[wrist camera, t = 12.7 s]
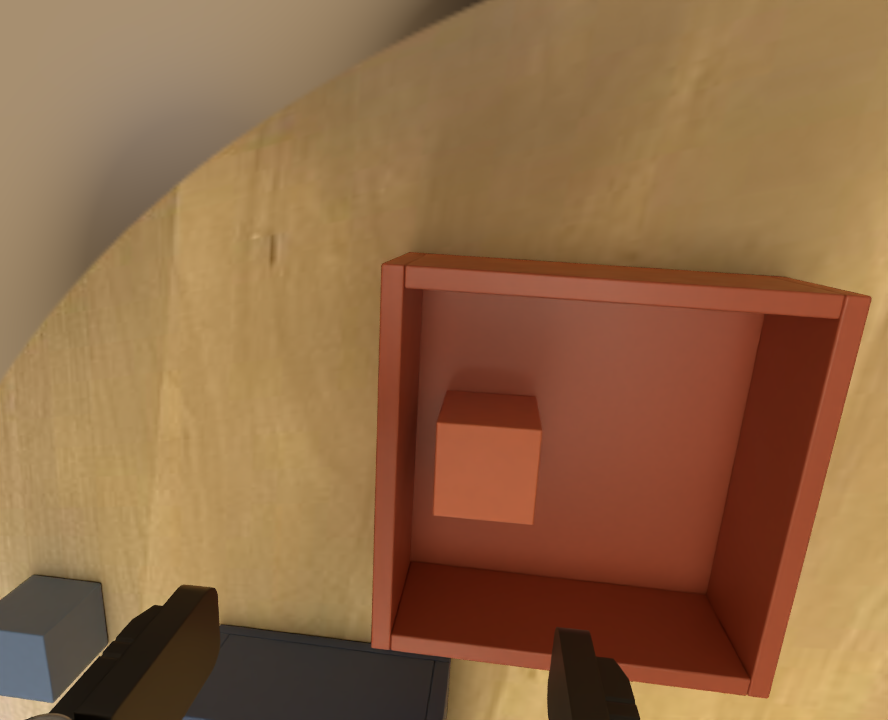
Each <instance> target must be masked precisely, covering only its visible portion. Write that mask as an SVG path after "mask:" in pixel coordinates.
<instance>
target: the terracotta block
mask: <svg viewBox="0 0 888 720" xmlns="http://www.w3.org/2000/svg"><path fill="white" fill-rule="evenodd" d="M542 433H543V431H542V425H541V420H540V414H539V409H538V403H537V398H536V397H533V396H519V395H505V394H492V393H478V392H464V391H451V390H448V391H446V394H445V397H444V400H443V403H442V406H441V410H440V413H439V416H438V419H437V422H436V437H435V461H434V485H433V509H432V514H433V515H434V516H443V517H453V518H464V519H475V520H485V521H496V522H507V523H518V524H528V525H533V523H534V517H535V506H536V496H537V485H538V475H539V464H540V454H541V443H542Z"/></svg>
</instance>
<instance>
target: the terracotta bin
mask: <svg viewBox="0 0 888 720" xmlns="http://www.w3.org/2000/svg"><path fill="white" fill-rule="evenodd" d="M870 303H871V297H870V296H867V295H863V294H858V293H854V292H850V291H845V290H841V289H836V288H832V287H827V286H823V285H818V284H814V283H810V282H805V281H801V280H796V279H791V278H788V277H779V276H764V275H749V274H734V273H718V272H703V271H688V270H673V269H658V268H642V267H627V266H612V265H597V264H581V263H566V262H551V261H536V260H520V259H505V258H490V257H475V256H459V255H444V254H429V253H414V252H409V253H407V254H405V255H402V256H400V257H397V258H395V259H392V260H390V261H387V262H385V263H383V264H382V265H381V300H380V337H379V374H378V411H377V448H376V484H375V521H374V558H373V595H372V632H371V647H372V648H376V649H384V650H390V648H391V650H393V651H400V652H408V653H416V654H424V655H432V656H439V657H447V658H455V659H463V660H471V661H479V662H486V663H494V664H502V665H510V666H518V667H525V668H533V669H541V670H549V671H550V663H551V656H552V648H553V640H554V633H555V629H556V627H563V628H572V629H581V630H589V632H590V634H591V637H592V642H593V646H594V651H595V655H596V656H597V657H606V658H614V660H615V661H616V662H617V664H618V665H619V666H620V668H621V669H622V670H623V672H624V673H625V674H626V676H627V677H628V678H629V681H635V682H643V683H650V684H658V685H666V686H674V687H682V688H690V689H697V690H705V691H713V692H721V693H729V694H736V695H744V696H745V695H748V696H752V697H760V698H768V697H769V694H770V690H771V686H772V682H773V678H774V674H775V670H776V667H777V663H778V659H779V655H780V651H781V647H782V643H783V639H784V636H785V632H786V628H787V624H788V620H789V616H790V612H791V609H792V605H793V601H794V597H795V593H796V589H797V585H798V581H799V578H800V574H801V570H802V566H803V562H804V558H805V554H806V551H807V547H808V543H809V539H810V535H811V531H812V527H813V523H814V520H815V516H816V512H817V508H818V504H819V500H820V496H821V492H822V489H823V485H824V481H825V477H826V473H827V469H828V465H829V462H830V458H831V454H832V450H833V446H834V442H835V438H836V434H837V431H838V427H839V423H840V419H841V415H842V411H843V407H844V403H845V400H846V396H847V392H848V388H849V384H850V380H851V376H852V373H853V369H854V365H855V361H856V357H857V353H858V349H859V345H860V342H861V338H862V334H863V330H864V326H865V322H866V318H867V315H868V311H869V307H870ZM448 390H451V391H464V392H478V393H492V394H505V395H519V396H533V397H536V398H537V403H538V409H539V414H540V420H541V425H542V431H543V433H542V443H541V454H540V464H539V475H538V485H537V496H536V506H535V517H534V523H533V525H528V524H518V523H507V522H496V521H485V520H475V519H464V518H453V517H443V516H434V515H433V514H432V509H433V485H434V461H435V437H436V422H437V419H438V416H439V413H440V410H441V406H442V403H443V400H444V397H445V394H446V391H448Z"/></svg>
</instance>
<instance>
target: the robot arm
mask: <svg viewBox="0 0 888 720" xmlns="http://www.w3.org/2000/svg"><path fill="white" fill-rule="evenodd" d="M219 649H220V626H219V609H218V594H217V591H216V589H215V588H211V587H202V586H193V585H181V586H180V587H179V588H178V589H177V590H176V591H175V592H174V593H173V595H172V596H171V597H170V598H169V599H168V601H167V602H166V603H165V604H164V605H163V606H158V605H154V606H152V607H151V608H149V609H148V610H146V611H145V612H143V613H142V614H140V615H138V616H137V617H135V618H134V619H132V620H131V621H130V623H129V624H128V625H127V626H126V627H125V628H124V629H123V630H122V632H121V633H120V634H119V635H118V636H117V637H116V640H115V641H113V642H112V643H111V644H110V645H109V646H108V647H107V648H106V650H105V651H104V652H103V655H102V656H99V657H98V658H97V660H96V661H95V662H94V663H93V664H92V665H91V666H90V667H89V669H88V670H87V671H86V672H85V673H84V674H83V675H82V676H81V678H80V679H79V680H78V681H77V682H76V683H75V684H74V685H73V687H72V688H71V689H70V690H69V691H68V692H67V693H66V694H65V696H64V697H63V698H62V699H61V700H60V701H59V702H58V703H57V704H56V706H55V707H54V708H53V709H52V710H51V711H50V712H49V713H47V714H42V715H37V716H34V717H31V718H29V719H26V720H182V719H183V718H184V716H185V714H186V713H187V711H188V709H189V708H190V706H191V705H192V703H193V701H194V700H195V698H196V696H197V695H198V693H199V692H200V690H201V688H202V687H203V685H204V684H205V682H206V680H207V679H208V677H209V675H210V674H211V672H212V670H213V668H214V666H215V664H216V661H217V658H218V654H219ZM547 704H548V718H549V720H640V716H639V713H638V709H637V706H636V705H635V699H634V696H633V692H632V689H631V685H630V682H629V678H628V677H627V676H626V674H625V673H624V672H623V670H622V669H621V668H620V666H619V665H618V664H617V662H616V661H615V660H614V658H606V657H597V656H596V655H595V651H594V646H593V642H592V637H591V634H590V632H589V630H581V629H572V628H563V627H556V629H555V633H554V640H553V648H552V656H551V663H550V671H549V679H548V693H547Z"/></svg>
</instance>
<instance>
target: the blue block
mask: <svg viewBox="0 0 888 720" xmlns="http://www.w3.org/2000/svg"><path fill="white" fill-rule="evenodd" d="M107 644H108V640H107V632H106V623H105V615H104V607H103V598H102V590H101V584H100V583H95V582H87V581H79V580H71V579H62V578H54V577H46V576H38V575H32V576H31V577H30V578H28V579H27V580H26V581H25V582H23V583H22V584H21V585H19V586H18V587H17V588H15V589H14V590H13V591H12V592H10V593H9V594H8V595H6V596H5V597H4V598H2V599H1V600H0V695H1V696H8V697H15V698H22V699H29V700H36V701H43V702H50V703H53V702H55V701H56V699H57V698H58V697H59V696H60V695H61V694H62V693H63V692H64V691H65V690H66V689H67V687H68V686H69V685H70V684H71V683H72V682H73V681H74V680H75V679H76V678H77V677H78V676H79V674H80V673H81V672H82V671H83V670H84V669H85V668H86V667H87V666H88V665H89V664H90V663H91V661H92V660H93V659H94V658H95V657H96V656H97V655H98V654H99V653H100V652H101V651H102V649H103V648H104V647H105V646H106V645H107Z"/></svg>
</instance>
